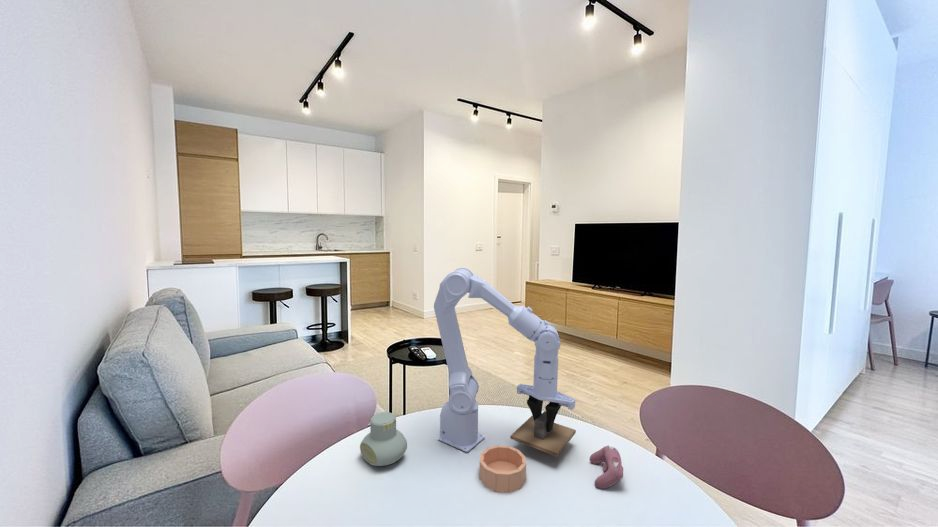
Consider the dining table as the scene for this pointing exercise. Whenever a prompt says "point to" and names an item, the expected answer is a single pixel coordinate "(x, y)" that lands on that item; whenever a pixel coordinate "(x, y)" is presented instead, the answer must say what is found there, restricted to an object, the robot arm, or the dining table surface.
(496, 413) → the dining table surface
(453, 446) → the robot arm
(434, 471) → the dining table surface
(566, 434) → the lid
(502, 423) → the dining table surface
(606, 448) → the video game controller
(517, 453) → the bowl
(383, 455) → the air freshener
